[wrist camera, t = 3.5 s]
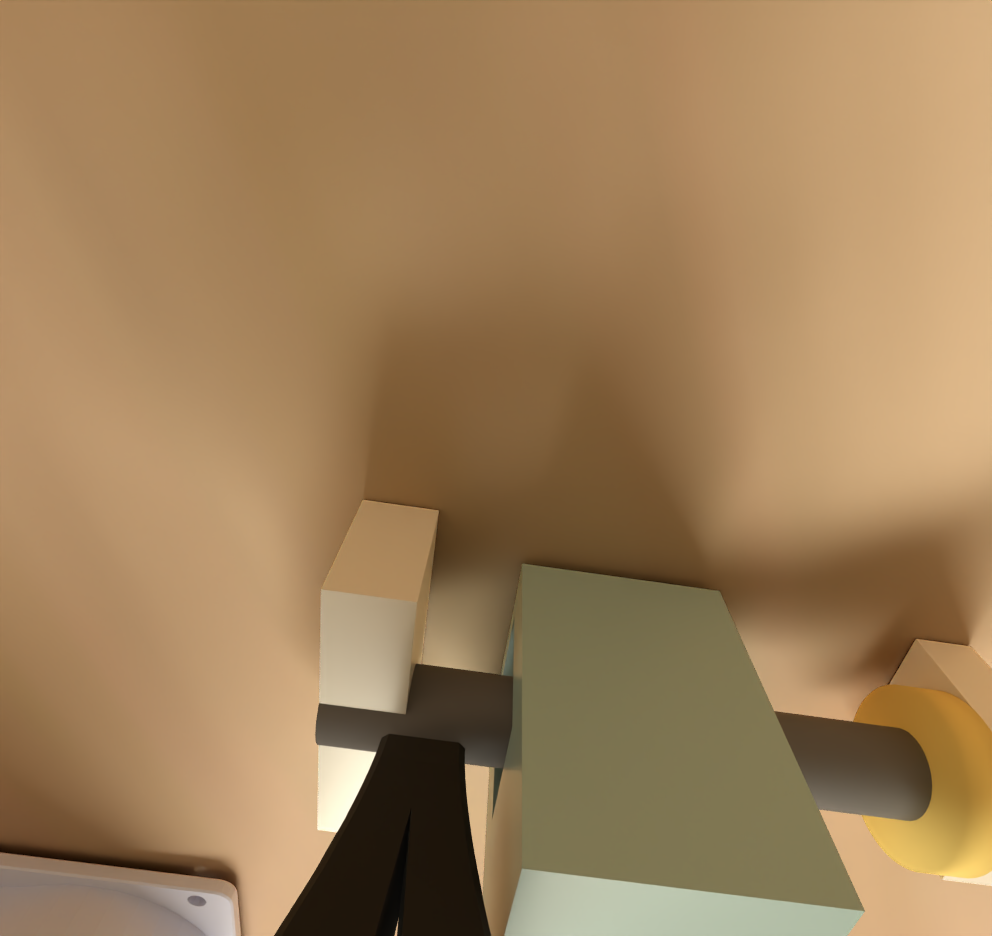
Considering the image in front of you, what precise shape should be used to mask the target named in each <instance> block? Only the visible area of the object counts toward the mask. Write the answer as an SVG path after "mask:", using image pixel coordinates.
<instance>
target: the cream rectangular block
mask: <svg viewBox="0 0 992 936" xmlns="http://www.w3.org/2000/svg"><path fill="white" fill-rule="evenodd" d="M438 515H439V510H433V509H426V508H419V507H412V506H405V505H397V504H390V503H383V502H376V501H369V500H362V502H361V504H360V506H359V509H358V511H357V513H356V515H355V517H354V519H353V521H352V524H351V526H350V528H349V530H348V532H347V534H346V536H345V539H344V541H343V543H342V545H341V547H340V549H339V551H338V554H337V556H336V558H335V560H334V562H333V564H332V566H331V569H330V571H329V573H328V575H327V577H326V579H325V581H324V584H323V586H322V588H321V613H320V682H319V703H322V704H329V705H337V706H345V707H352V708H360V709H368V710H375V711H383V712H390V713H398V714H406V709H407V703H408V697H409V692H410V686H411V681H412V676H413V672H414V668H415V665H416V664H422V655H423V646H424V638H425V629H426V620H427V611H428V603H429V594H430V585H431V576H432V568H433V559H434V550H435V541H436V533H437V524H438ZM375 754H376V752H369V751H361V750H354V749H346V748H338V747H330V746H323V745H319V751H318V819H317V830H323V831H331V832H338V830H339V828H340V826H341V824H342V823H343V821H344V819H345V817H346V815H347V813H348V811H349V809H350V808H351V806H352V804H353V802H354V800H355V798H356V796H357V794H358V792H359V790H360V788H361V786H362V784H363V782H364V780H365V777H366V775H367V773H368V771H369V768H370V766H371V764H372V761H373V759H374V757H375Z"/></svg>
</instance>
